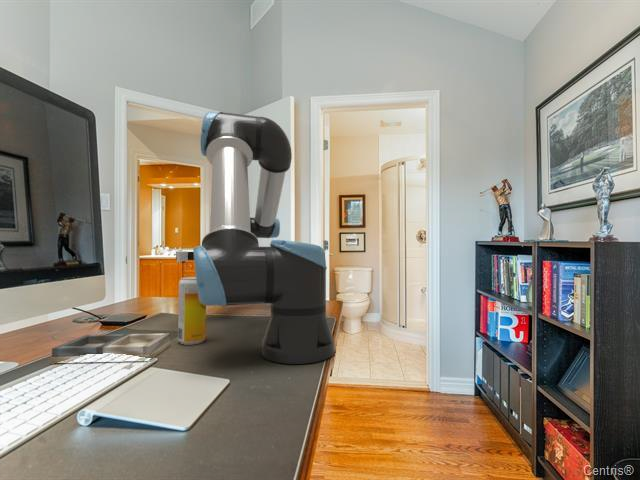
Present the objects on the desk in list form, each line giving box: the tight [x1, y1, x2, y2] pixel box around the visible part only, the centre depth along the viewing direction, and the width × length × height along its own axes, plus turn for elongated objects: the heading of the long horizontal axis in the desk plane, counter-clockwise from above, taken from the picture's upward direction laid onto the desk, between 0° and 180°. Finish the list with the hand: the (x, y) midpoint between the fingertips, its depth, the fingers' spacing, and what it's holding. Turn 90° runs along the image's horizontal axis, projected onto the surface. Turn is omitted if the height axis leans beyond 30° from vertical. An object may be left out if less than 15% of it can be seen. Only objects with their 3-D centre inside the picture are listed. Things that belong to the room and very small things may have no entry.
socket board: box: [49, 332, 171, 365], centre depth 67 cm, size 18×11×3 cm, turn 94°
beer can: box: [177, 276, 207, 346], centre depth 76 cm, size 6×6×15 cm
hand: (204, 256), depth 86 cm, fingers open, 13 cm apart
